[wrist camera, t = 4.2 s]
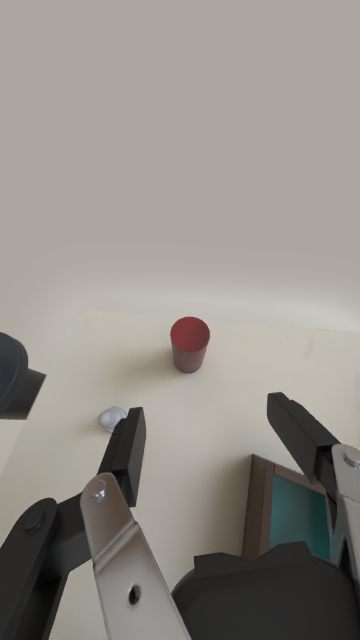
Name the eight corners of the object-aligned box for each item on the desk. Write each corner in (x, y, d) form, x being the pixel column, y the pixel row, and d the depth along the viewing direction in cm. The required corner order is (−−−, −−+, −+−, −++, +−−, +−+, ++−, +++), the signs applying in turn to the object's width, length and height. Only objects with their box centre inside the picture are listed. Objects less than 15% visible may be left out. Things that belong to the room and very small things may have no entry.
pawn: (106, 436, 20) (90, 439, 16) (103, 412, 21) (87, 410, 17) (129, 426, 20) (117, 427, 17) (124, 403, 21) (112, 399, 18)
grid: (225, 705, 12) (239, 803, 9) (252, 453, 19) (265, 459, 16) (498, 895, 9) (656, 1132, 6) (410, 518, 16) (463, 540, 13)
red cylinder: (169, 367, 24) (164, 344, 17) (179, 342, 26) (178, 312, 19) (197, 377, 23) (204, 357, 16) (205, 350, 25) (214, 322, 18)
